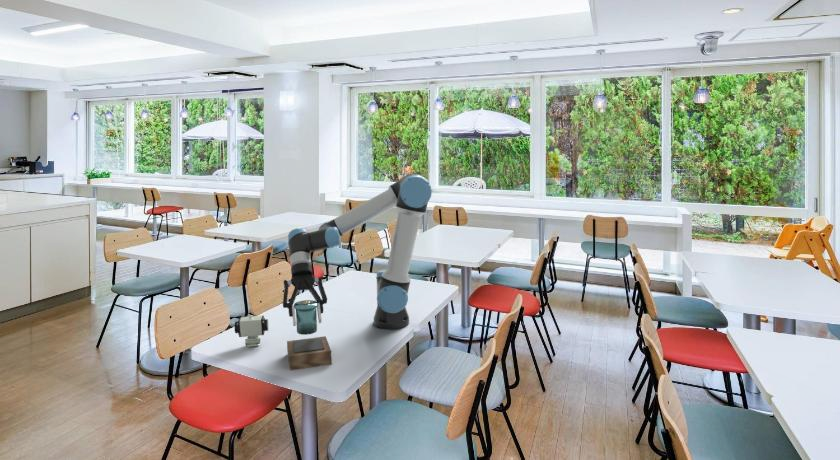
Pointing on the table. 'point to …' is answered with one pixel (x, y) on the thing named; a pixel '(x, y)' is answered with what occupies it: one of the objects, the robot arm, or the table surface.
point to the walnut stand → (309, 353)
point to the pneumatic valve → (251, 329)
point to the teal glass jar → (306, 316)
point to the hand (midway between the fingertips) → (307, 322)
